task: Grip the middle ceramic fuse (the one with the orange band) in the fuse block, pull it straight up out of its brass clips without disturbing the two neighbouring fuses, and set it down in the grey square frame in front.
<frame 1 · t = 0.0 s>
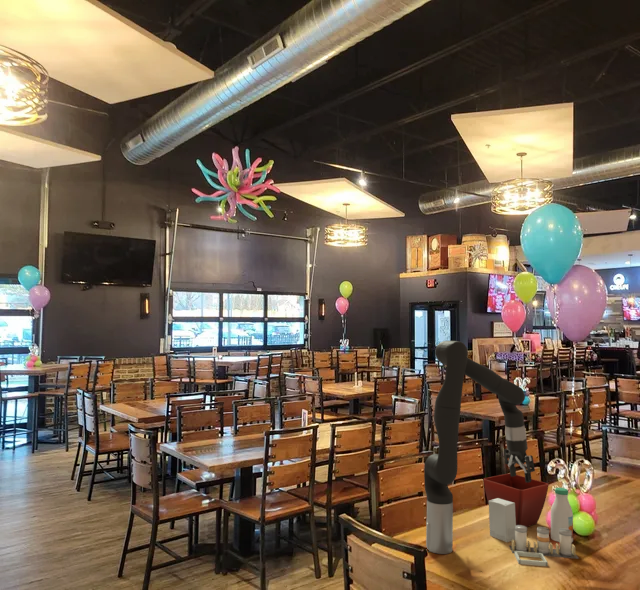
hand: (520, 479, 214), 22 cm above the table, tool pointing down, fingers open, 8 cm apart
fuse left: (520, 550, 197), point 1 cm above the table, touching fuse block
plant pot: (515, 522, 230), on the table
grey square frame: (530, 564, 189), on the table
milk bottle: (561, 543, 209), on the table
skincare box: (502, 541, 209), on the table
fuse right: (565, 553, 195), point 1 cm above the table, touching fuse block
fuse block: (543, 556, 196), on the table
fuse marked: (543, 551, 196), point 1 cm above the table, touching fuse block
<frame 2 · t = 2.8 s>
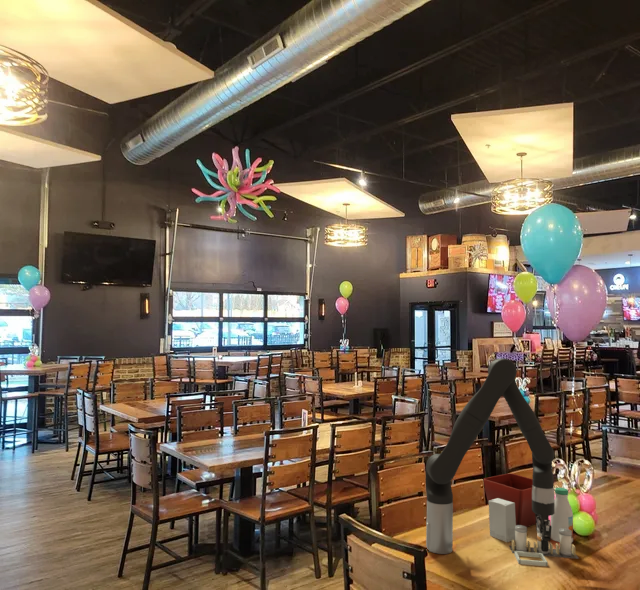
hand: (543, 548, 196), 3 cm above the table, tool pointing down, fingers closed on fuse marked, 4 cm apart
fuse marked: (543, 551, 196), point 2 cm above the table, touching fuse block, gripper
everything else where it was.
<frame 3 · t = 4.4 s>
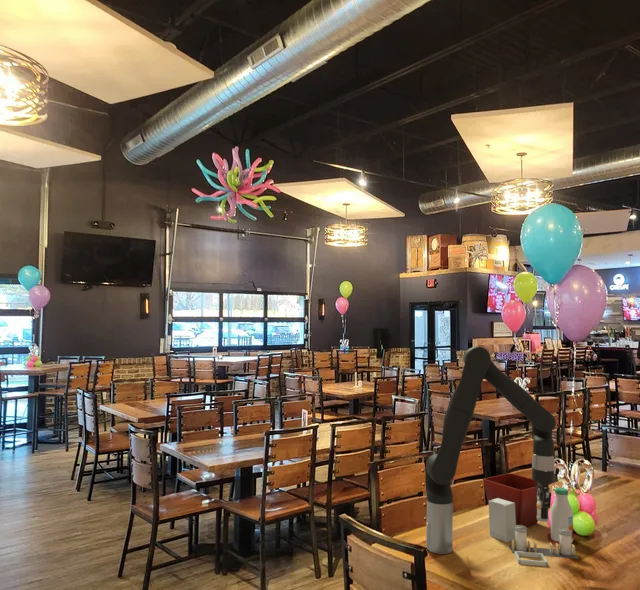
hand: (542, 516, 197), 14 cm above the table, tool pointing down, fingers closed on fuse marked, 4 cm apart
fuse marked: (542, 519, 197), point 13 cm above the table, touching gripper
everything else where it was.
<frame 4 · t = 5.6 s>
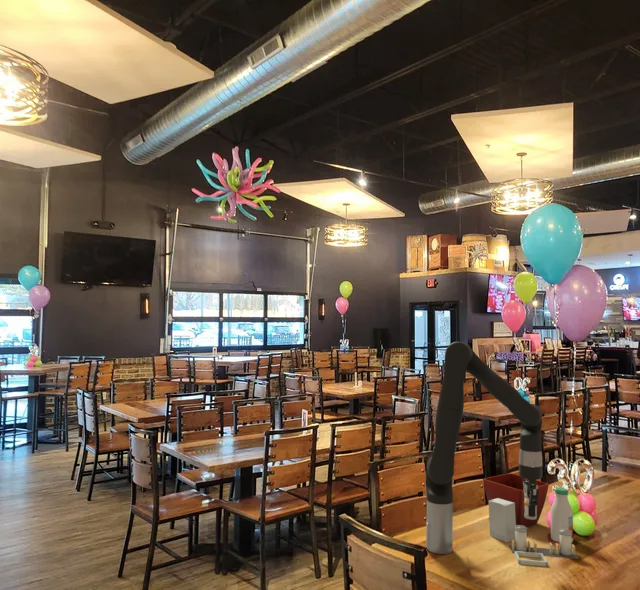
hand: (530, 513, 190), 17 cm above the table, tool pointing down, fingers closed on fuse marked, 4 cm apart
fuse marked: (530, 517, 190), point 16 cm above the table, touching gripper
everything else where it was.
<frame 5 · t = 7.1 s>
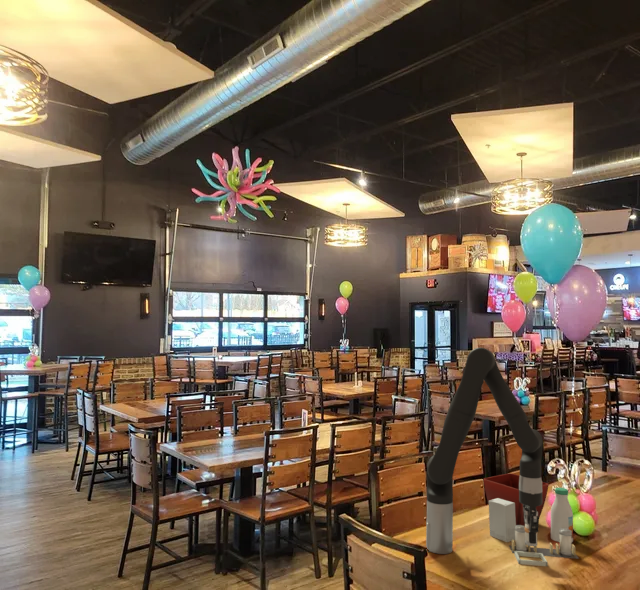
hand: (531, 540, 189), 8 cm above the table, tool pointing down, fingers closed on fuse marked, 4 cm apart
fuse marked: (531, 543, 189), point 7 cm above the table, touching gripper
everything else where it was.
when the fingers open (4 cm above the table, at t = 8.4 s): fuse marked drops 2 cm, resting on grey square frame.
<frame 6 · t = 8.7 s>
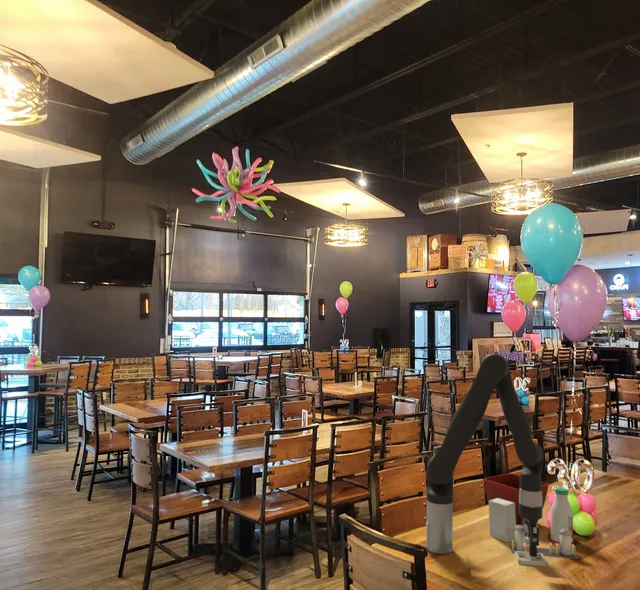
hand: (530, 551, 189), 4 cm above the table, tool pointing down, fingers open, 7 cm apart
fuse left: (520, 550, 197), point 2 cm above the table, touching fuse block, hand
fuse marked: (530, 562, 189), point 1 cm above the table, touching grey square frame
everything else where it was.
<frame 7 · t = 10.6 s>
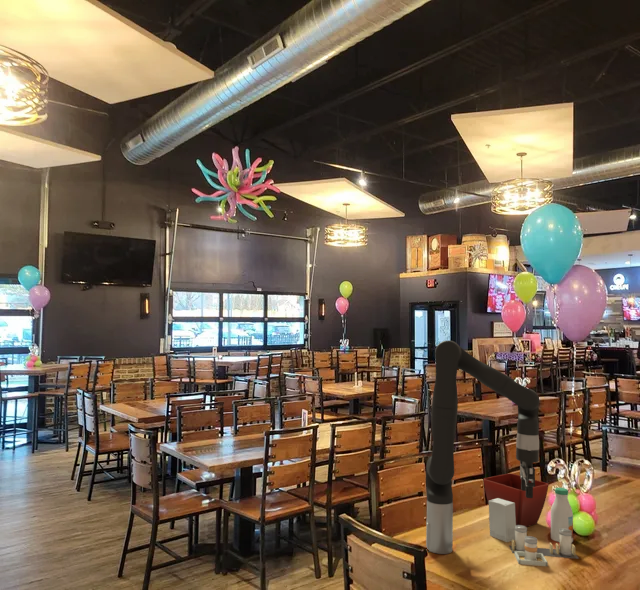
hand: (526, 494, 193), 23 cm above the table, tool pointing down, fingers open, 8 cm apart
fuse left: (520, 550, 197), point 2 cm above the table, touching fuse block
everything else where it was.
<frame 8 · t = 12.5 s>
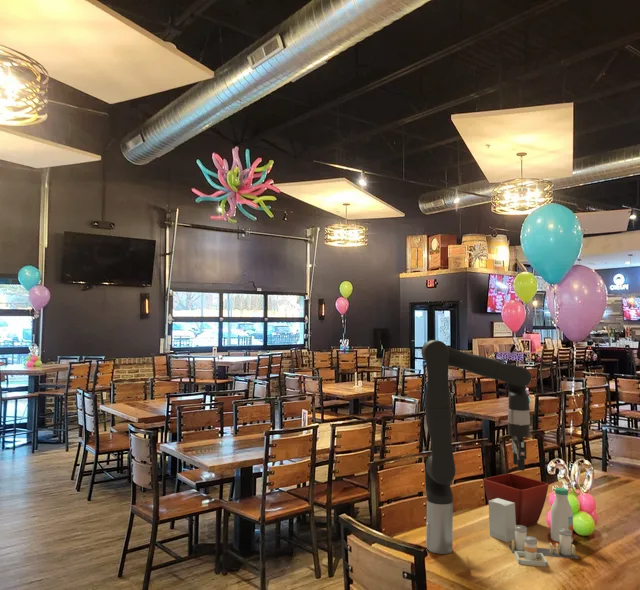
hand: (518, 467, 200), 30 cm above the table, tool pointing down, fingers open, 8 cm apart
nothing on the table moved.
at the end: fuse marked inside the target area on the grey square frame (0.0 cm from its centre), point 0.9 cm above the grey square frame's base; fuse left moved 0.0 cm from its start; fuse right moved 0.0 cm from its start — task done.
